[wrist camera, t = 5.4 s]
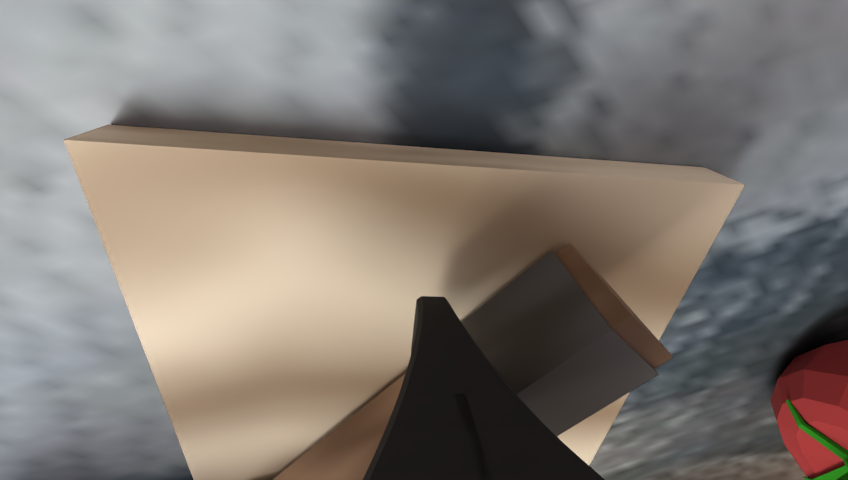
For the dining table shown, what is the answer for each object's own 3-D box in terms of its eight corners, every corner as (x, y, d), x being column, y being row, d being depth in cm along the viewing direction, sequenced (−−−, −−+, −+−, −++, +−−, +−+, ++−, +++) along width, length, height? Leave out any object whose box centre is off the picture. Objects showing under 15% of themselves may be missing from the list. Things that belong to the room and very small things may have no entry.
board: (551, 481, 20) (597, 603, 16) (226, 496, 18) (175, 643, 14) (704, 167, 11) (897, 250, 7) (108, 124, 9) (-130, 205, 5)
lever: (284, 525, 17) (263, 627, 14) (218, 505, 15) (180, 613, 13) (613, 289, 11) (690, 375, 9) (555, 228, 10) (623, 306, 7)
